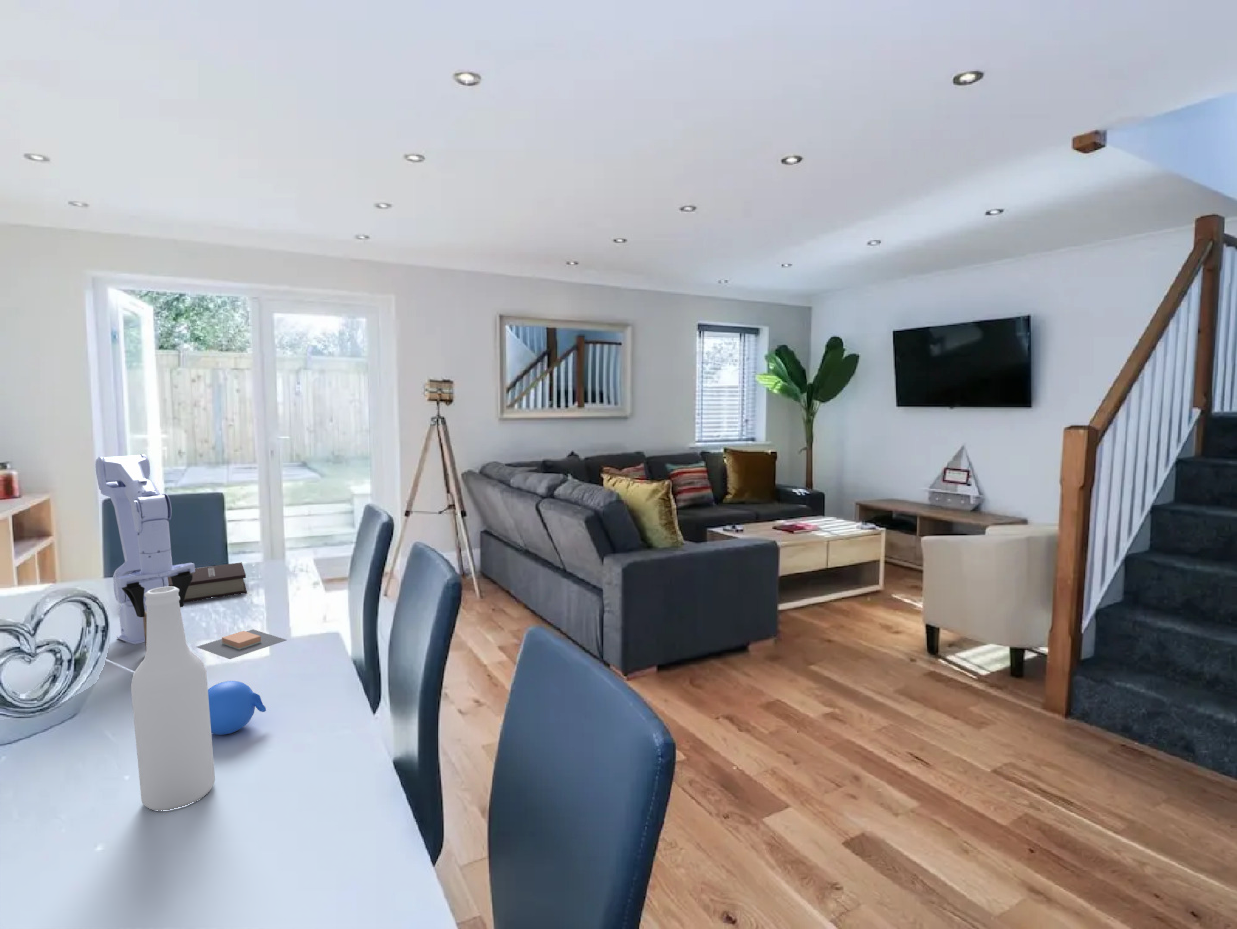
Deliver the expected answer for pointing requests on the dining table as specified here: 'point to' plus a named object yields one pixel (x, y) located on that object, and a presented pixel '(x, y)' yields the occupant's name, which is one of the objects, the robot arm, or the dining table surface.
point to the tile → (241, 640)
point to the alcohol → (171, 711)
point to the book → (215, 582)
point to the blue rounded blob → (232, 706)
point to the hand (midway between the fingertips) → (160, 611)
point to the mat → (232, 652)
